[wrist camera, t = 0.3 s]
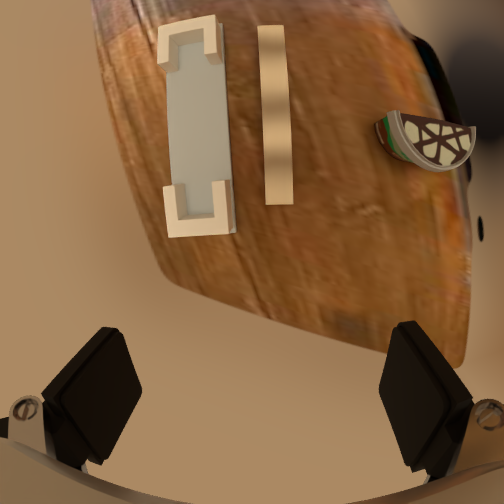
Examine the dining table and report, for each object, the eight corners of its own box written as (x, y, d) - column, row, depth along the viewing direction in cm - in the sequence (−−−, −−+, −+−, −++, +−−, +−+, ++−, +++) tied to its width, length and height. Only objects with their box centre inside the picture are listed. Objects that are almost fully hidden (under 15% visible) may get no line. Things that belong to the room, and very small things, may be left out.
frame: (169, 36, 29) (156, 22, 25) (223, 26, 29) (216, 9, 24) (180, 234, 38) (167, 243, 33) (236, 231, 37) (231, 240, 33)
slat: (259, 45, 30) (257, 25, 24) (281, 44, 30) (283, 25, 24) (266, 199, 36) (265, 204, 30) (289, 198, 36) (293, 204, 30)
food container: (366, 167, 34) (397, 167, 24) (364, 122, 32) (394, 109, 22) (439, 173, 33) (480, 177, 23) (437, 132, 31) (478, 127, 21)
